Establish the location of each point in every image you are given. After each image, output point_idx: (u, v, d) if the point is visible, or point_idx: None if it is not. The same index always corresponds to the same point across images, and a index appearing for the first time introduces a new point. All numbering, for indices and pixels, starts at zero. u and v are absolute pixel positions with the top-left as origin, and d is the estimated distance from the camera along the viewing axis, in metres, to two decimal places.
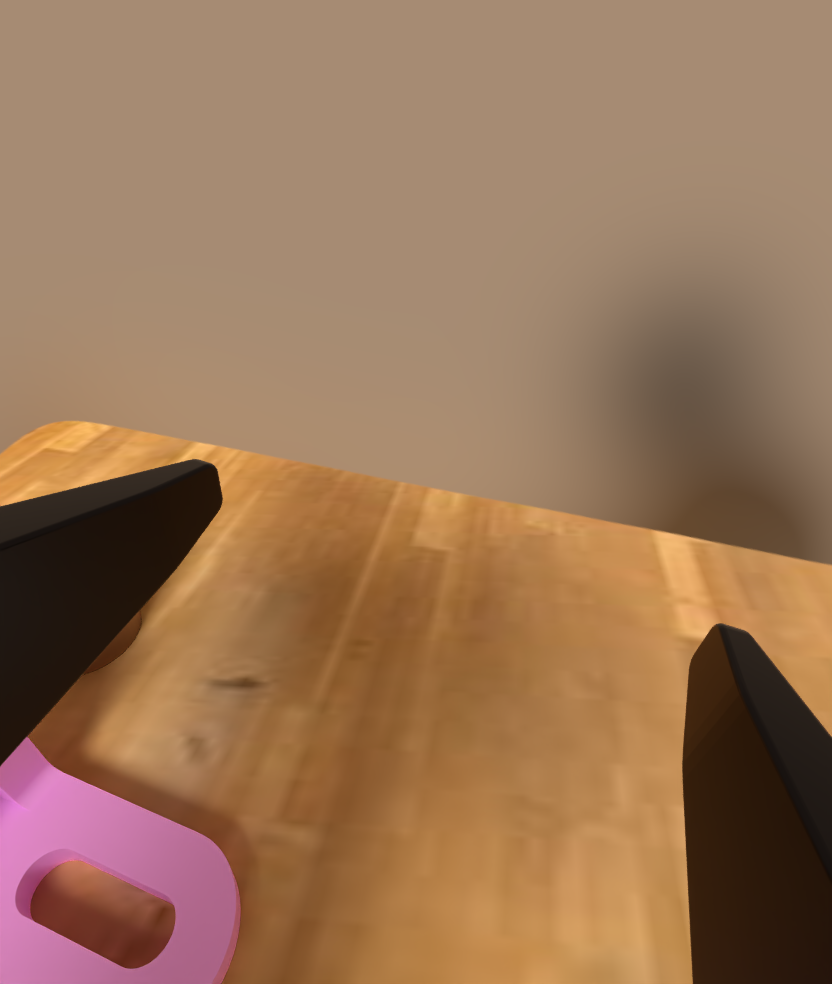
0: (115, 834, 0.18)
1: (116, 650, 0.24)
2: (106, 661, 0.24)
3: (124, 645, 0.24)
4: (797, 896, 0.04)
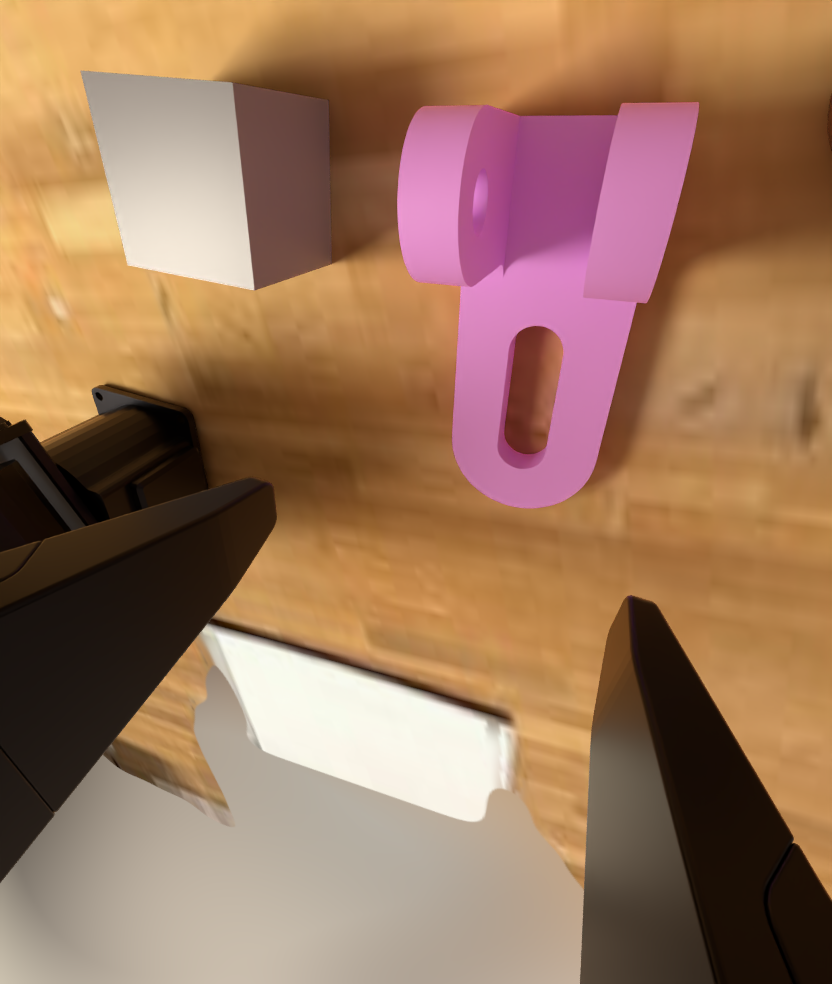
0: (583, 388, 0.17)
1: None
2: None
3: None
4: (651, 833, 0.05)
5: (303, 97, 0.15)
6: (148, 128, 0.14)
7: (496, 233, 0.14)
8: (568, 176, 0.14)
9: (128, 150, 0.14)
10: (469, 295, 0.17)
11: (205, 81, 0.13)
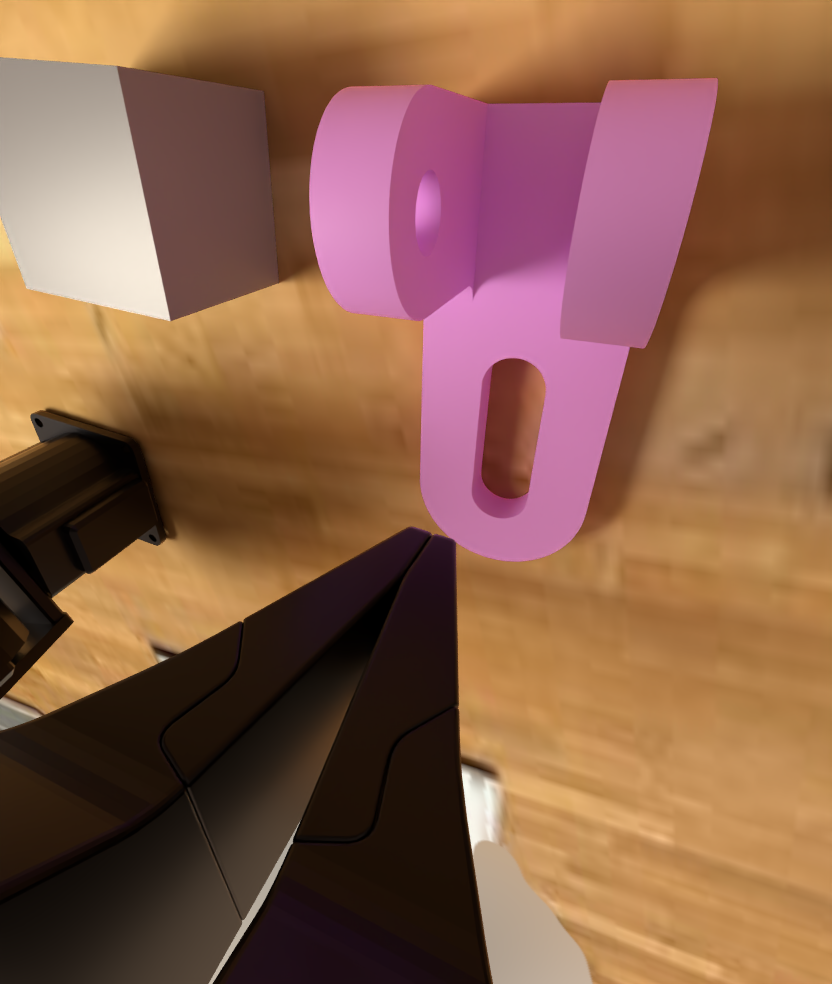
0: (570, 431, 0.14)
1: None
2: None
3: None
4: None
5: (227, 87, 0.12)
6: (26, 124, 0.11)
7: (458, 250, 0.11)
8: (548, 179, 0.11)
9: (9, 152, 0.12)
10: (434, 320, 0.14)
11: (84, 65, 0.10)
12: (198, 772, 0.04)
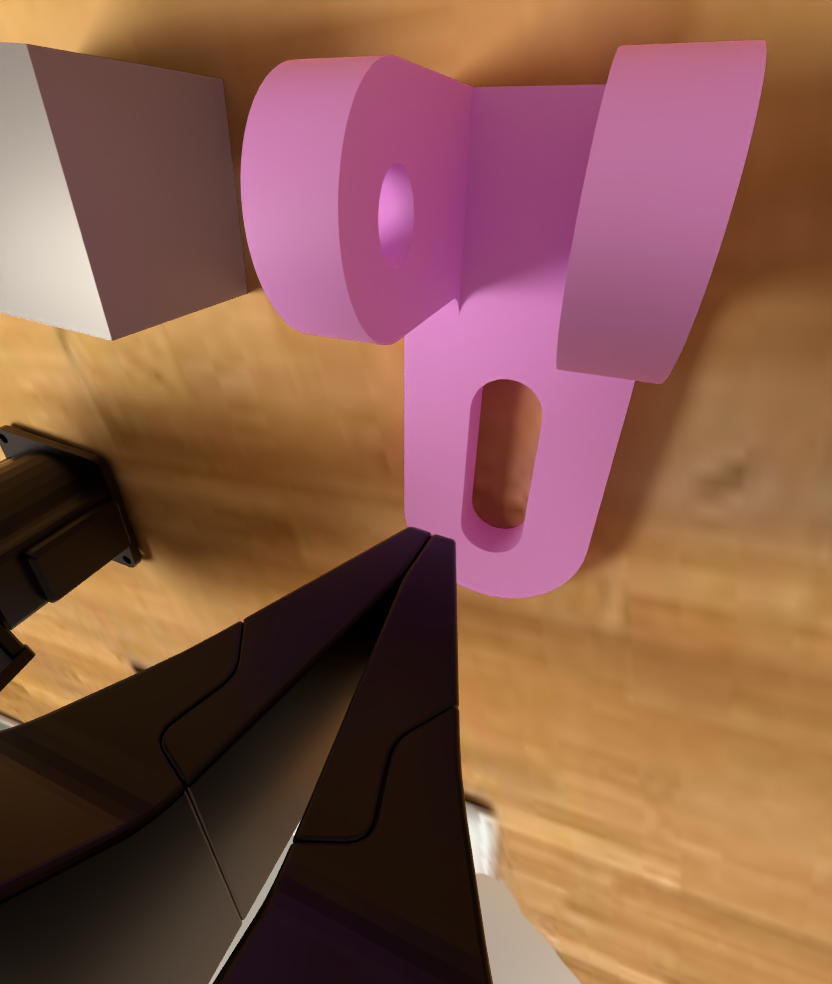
0: (570, 461, 0.13)
1: None
2: None
3: None
4: None
5: (175, 73, 0.11)
6: None
7: (439, 258, 0.10)
8: (545, 176, 0.10)
9: None
10: (416, 336, 0.12)
11: None
12: (198, 772, 0.04)
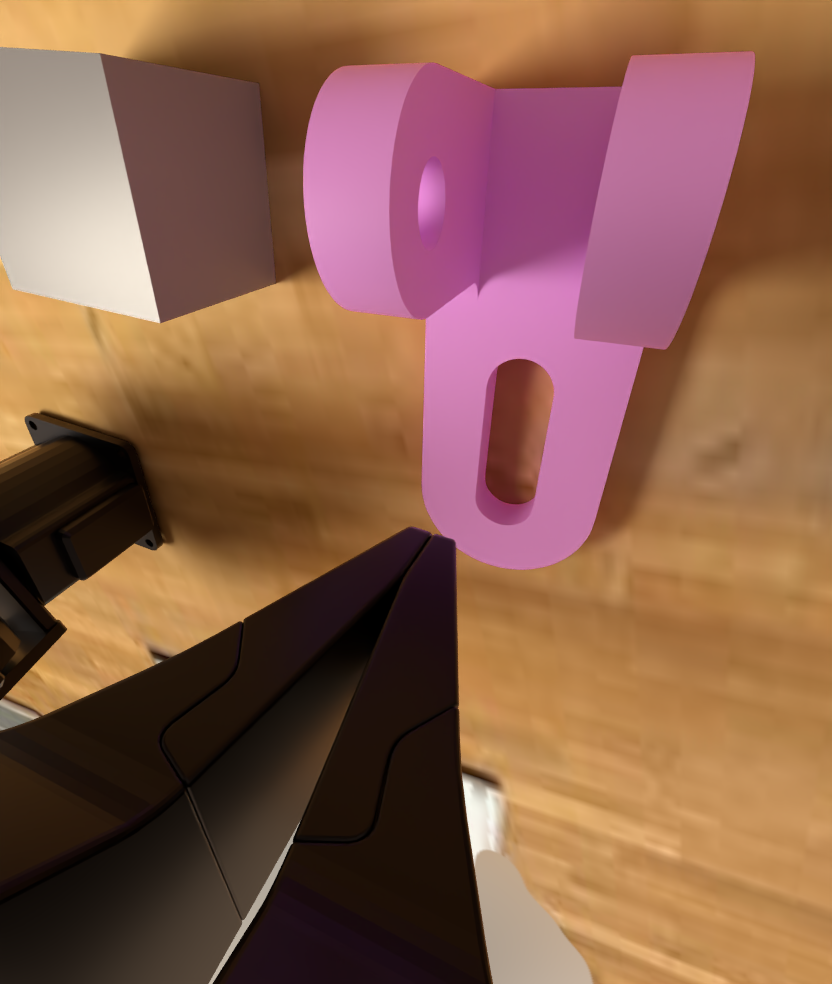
0: (579, 436, 0.14)
1: None
2: None
3: None
4: None
5: (219, 78, 0.12)
6: (8, 117, 0.11)
7: (463, 244, 0.11)
8: (559, 170, 0.11)
9: None
10: (436, 319, 0.13)
11: (66, 53, 0.09)
12: (198, 772, 0.04)
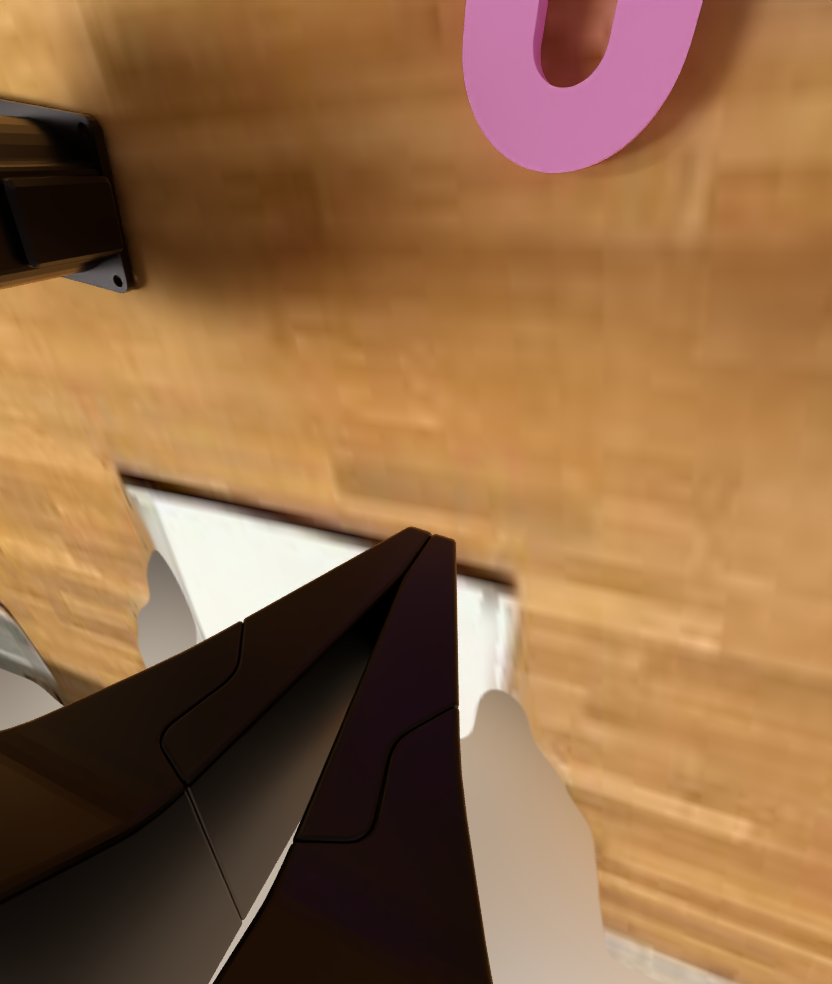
0: None
1: None
2: None
3: None
4: None
5: None
6: None
7: None
8: None
9: None
10: None
11: None
12: (198, 772, 0.04)
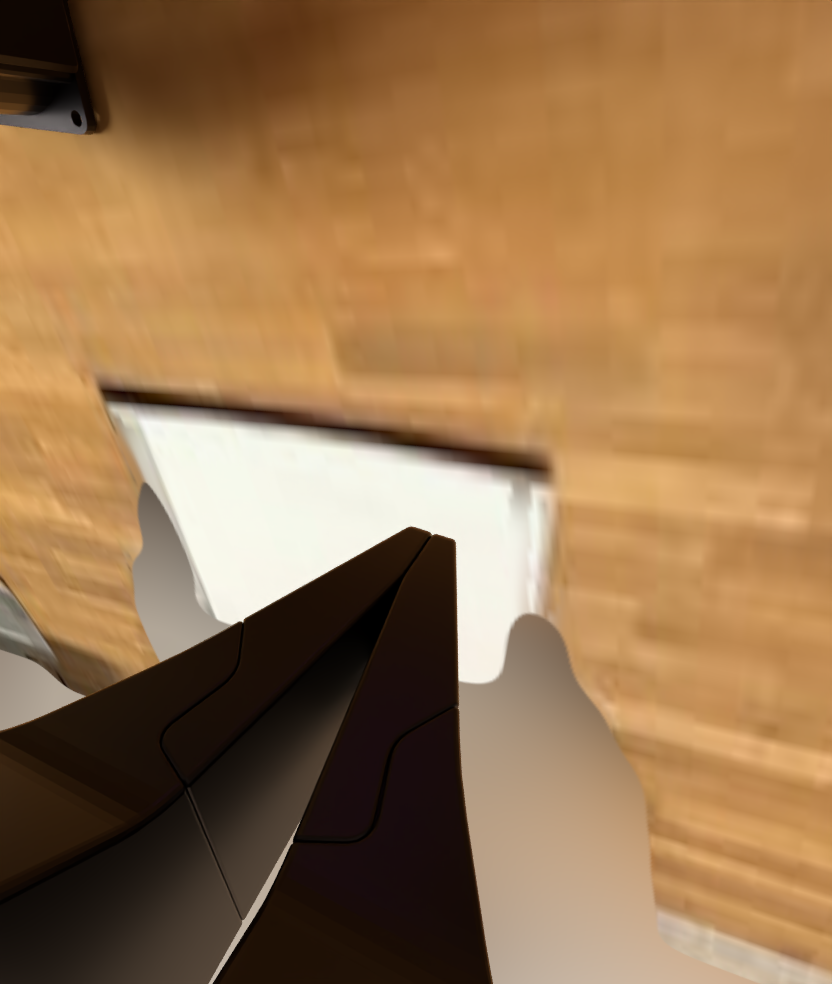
0: None
1: None
2: None
3: None
4: None
5: None
6: None
7: None
8: None
9: None
10: None
11: None
12: (198, 773, 0.04)
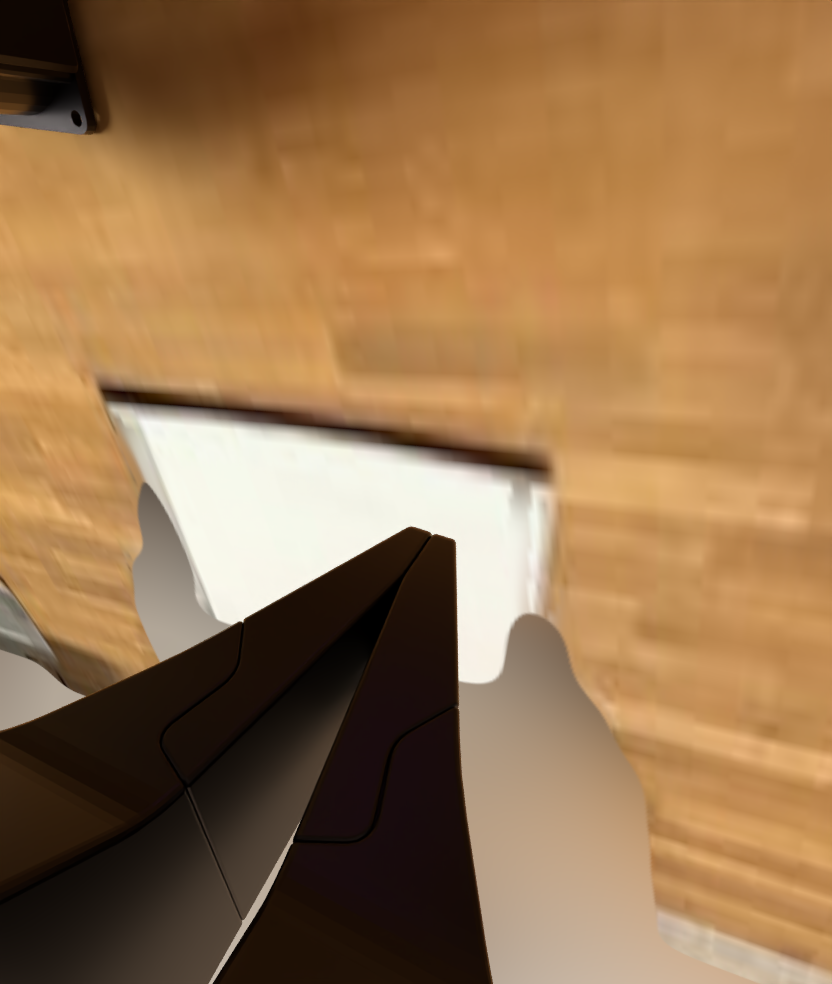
0: None
1: None
2: None
3: None
4: None
5: None
6: None
7: None
8: None
9: None
10: None
11: None
12: (198, 773, 0.04)
